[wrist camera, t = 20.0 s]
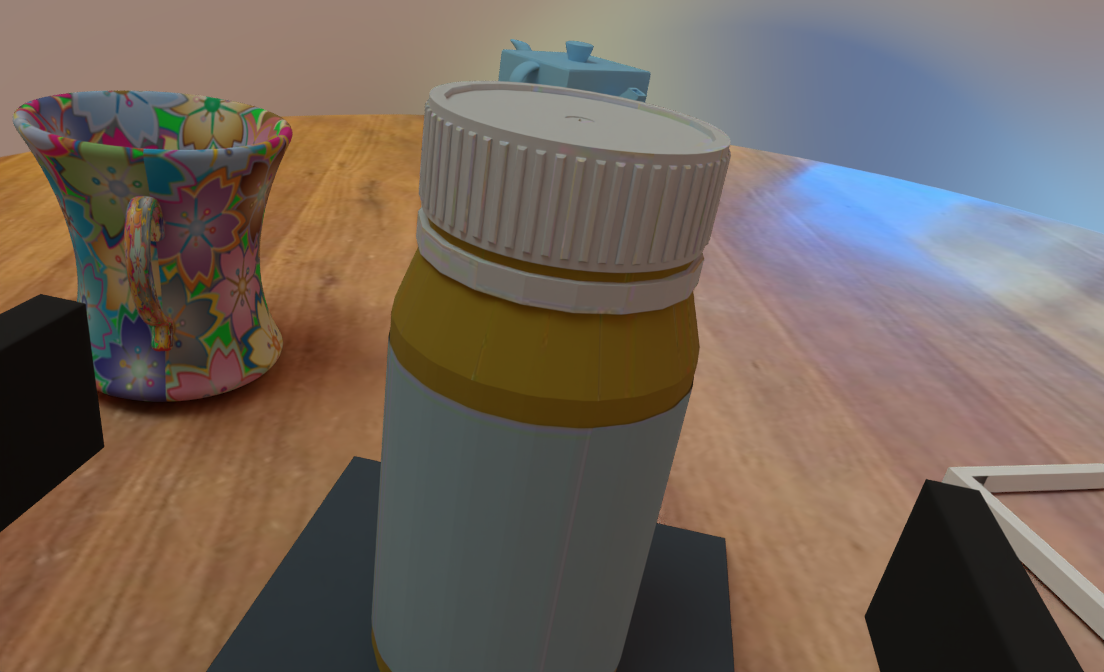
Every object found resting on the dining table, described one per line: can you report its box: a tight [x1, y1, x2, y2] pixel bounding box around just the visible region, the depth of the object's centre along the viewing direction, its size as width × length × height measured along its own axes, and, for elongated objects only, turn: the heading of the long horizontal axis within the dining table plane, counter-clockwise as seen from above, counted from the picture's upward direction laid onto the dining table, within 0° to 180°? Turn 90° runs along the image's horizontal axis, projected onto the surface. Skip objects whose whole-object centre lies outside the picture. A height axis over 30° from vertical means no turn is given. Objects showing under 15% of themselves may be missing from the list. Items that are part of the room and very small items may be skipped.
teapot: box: [498, 39, 650, 103], centre depth 74 cm, size 16×18×11 cm
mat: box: [206, 456, 734, 672], centre depth 22 cm, size 14×14×1 cm
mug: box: [13, 91, 292, 402], centre depth 30 cm, size 12×9×11 cm
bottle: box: [371, 81, 731, 672], centre depth 19 cm, size 7×7×15 cm
